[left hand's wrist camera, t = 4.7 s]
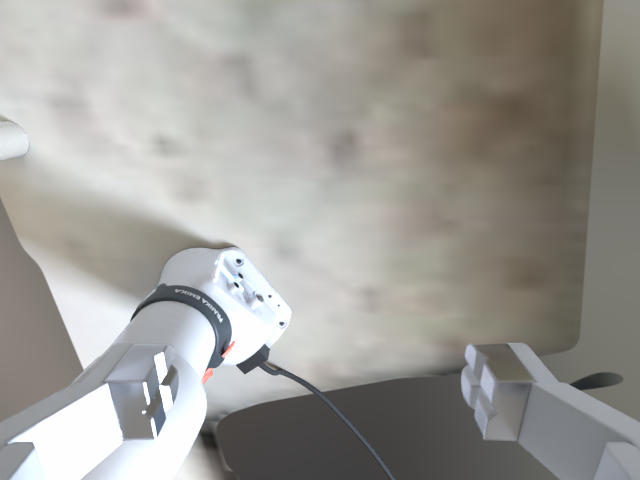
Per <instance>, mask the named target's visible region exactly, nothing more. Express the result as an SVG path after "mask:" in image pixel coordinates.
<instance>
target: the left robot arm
mask: <svg viewBox="0 0 640 480" xmlns="http://www.w3.org/2000/svg"><path fill="white" fill-rule="evenodd" d="M175 357H176V356H175V351H174V347H173V346H172V345H171V344H153V343H135V344H134V343H117V344H114V345H112V346H111V347H110V349H109V350H108V351H107V352H106V353H105V355H104V356H103V357H102V358H101V359H100V361H99V362H98V363H97V364H96V365H95V366H94V368H93V369H92V370H91V371H90V372H89V374H88V375H87V376H86V377H85V378H84V380H83V381H82V382H81V383H74V384H72V385H70V386H68V387H66V388H64V389H62V390H60V391H58V392H57V393H55V394H53V395H51V396H49V397H47V398H45V399H43V400H42V401H40V402H38V403H36V404H34V405H32V406H30V407H28V408H26V409H24V410H23V411H21V412H19V413H17V414H15V415H13V416H11V417H9V418H7V419H5V420H4V421H2V422H0V480H80V479H81V478H82V477H83V476H84V475H86V474H87V473H88V472H89V471H90V470H91V469H93V468H94V467H95V466H96V465H97V464H98V463H99V462H101V461H102V460H103V459H104V458H105V457H106V456H108V455H109V454H110V453H111V452H112V451H113V450H114V449H116V448H117V447H118V446H119V445H120V444H121V443H122V441H135V440H156V439H157V437H158V435H159V433H160V431H161V429H162V427H163V425H164V422H165V420H166V415H165V411H166V410H167V409H169V408H170V407H171V406H173V404H174V401H175V399H176V397H177V392H178V387H179V375H178V370H177V369H176V368H175V367H174V366H173V365H172V362H173V361H174V359H175ZM464 357H465V359H466V361H467V362H468V365H467V366H466V367H465V368H464V369H463V370H462V376H461V386H462V393H463V396H464V399H465V401H466V403H467V405H468V406H469V407H470V408H471V409H473V410H474V411H475V415H474V420H475V422H476V425H477V427H478V429H479V431H480V433H481V435H482V437H483V439H484V440H505V441H518V443H519V444H520V445H521V446H522V447H523V448H525V449H526V450H527V451H528V452H529V453H530V454H532V455H533V456H534V457H535V458H536V459H537V460H539V461H540V462H541V463H542V464H543V465H544V466H545V467H546V468H548V469H549V470H550V471H551V472H552V473H553V474H555V475H556V476H557V477H558V478H559V479H560V480H640V422H638V421H636V420H634V419H632V418H631V417H629V416H627V415H625V414H623V413H621V412H619V411H617V410H615V409H614V408H612V407H610V406H608V405H606V404H604V403H602V402H600V401H598V400H597V399H595V398H593V397H591V396H589V395H587V394H585V393H583V392H581V391H580V390H578V389H576V388H574V387H572V386H570V385H568V384H566V383H559V382H558V381H557V380H556V378H555V377H554V376H553V375H552V374H551V373H550V371H549V370H548V369H547V368H546V367H545V365H544V364H543V363H542V362H541V361H540V359H539V358H538V357H537V356H536V355H535V353H534V352H533V351H532V350H531V349H530V348H529V346H528V345H526V344H524V343H505V344H468V346H467V348H466V350H465V356H464Z"/></svg>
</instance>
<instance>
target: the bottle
mask: <svg viewBox="0 0 640 480" xmlns="http://www.w3.org/2000/svg"><path fill="white" fill-rule="evenodd" d="M28 149H29V138H28V136H27V134H26V132H25V131H24V130H23V129H22V128H21V127H20V126H19V125H17V124H15V123H13V122H10V121H0V161H2V160H6V159H11V158H16V157H21V156H23V155H25V154H26V153H27V151H28Z"/></svg>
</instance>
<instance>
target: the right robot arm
mask: <svg viewBox="0 0 640 480" xmlns="http://www.w3.org/2000/svg"><path fill="white" fill-rule="evenodd" d="M237 259H240V260H241V262H238V261H237ZM290 317H291V309H290V307H289V306H288V305H287V304H286V302H285V301H284V300H283V299H282V298H281V297H280V295H279V294H278V293H277V292H276V291H275V289H274V288H273V287H272V286H271V285H270V284H269V282H268V281H267V280H266V279H265V278H264V276H263V275H262V274H261V273H260V272H259V271H258V269H257V268H256V267H255V266H254V265H253V264H252V262H251V261H250V260H249V259H248V258H247V256H246V255H245V254H244V253H243V252H242V251H241V250H240V249H239V248H237V247H228V248H224V249H210V248H190V249H186V250H183V251H181V252H179V253H177V254H175V255H174V256H172V257H171V258H170V259H169V260H168V261H167V263H166V264H165V266H164V268H163V270H162V273H161V277H160V281H159V283H158V285H157V287H156V288H154V289H153V290H152V291H151V292H150V293H149V294H148V295H147V296H146V297H145V299H144V300H143V301H142V302H141V303H140V305H139V306H138V307H137V309H136V311H135V312H134V314H133V316H132V318H131V321H130V323H129V324H128V326H127V327H126V328H125V329H124V330H123V332H122V333H121V334H120V335H119V336H118V338H117V339H116V340H115V341H114V342H113V344H112V345H114V344H117V343H134V344H135V343H153V344H171V345H172V346H173V347H174V351H175V356H176V357H175V359H174V361H173V362H172V365H173V366H174V367H175V368H176V369H177V370H178V375H179V387H178V392H177V397H176V399H175V401H174V404H173V406H171V407H170V408H169V409H167V410H166V411H165V415H166V420H165V422H164V425H163V427H162V429H161V431H160V433H159V435H158V437H157V439H156V440H135V441H122V443H121V444H120V445H119V446H118V447H117V448H116V449H114V450H113V451H112V452H111V453H110V454H109V455H108V456H106V457H105V458H104V459H103V460H102V461H101V462H99V463H98V464H97V465H96V466H95V467H94V468H93V469H91V470H90V471H89V472H88V473H87V474H86V475H84V476H83V477H82V478H81V479H80V480H172V478H173V477H174V476H175V475H176V474H177V472H178V471H179V469H180V467H181V466H182V464H183V462H184V460H185V458H186V456H187V455H188V453H189V451H190V449H191V447H192V445H193V443H194V441H195V439H196V437H197V435H198V433H199V430H200V428H201V426H202V424H203V421H204V418H205V415H206V409H207V399H206V393H205V389H204V387H203V384H204V383H205V382H206V381H207V379H208V378H210V377H211V376H212V374H213V372H212V369H213V368H216V367H218V366H219V365H220V364H224V365H229V366H232V365H236V366H237V367H238V368H239V369H240V370H241V371H242V372H243V373H244V374H246V373H248V372H249V371H251V370H252V369H254V368H256V367H257V366H259V367H260V368H262V369H263V370H264V371H266V372H267V373H269V374H271V375H279V374H281V375H284V376H286V377H289V378H291V379H293V380H295V381H296V382H298V383H300V384H301V385H303V386H305V387H306V388H308V389H309V390H310V391H312V392H313V393H315V394H316V395H317V396H319V397H320V398H321V399H322V400H323V401H324V402H325V403H327V404H328V405H329V407H330V408H331V409H332V410H333V411H334V412H335V413H336V414H337V415H338V416H339V417H340V418H341V419H342V420H343V421H344V422H345V423H346V424H347V426H348V427H349V428H350V429H351V430H352V431H353V432H354V433H355V434H356V435H357V437H358V438H359V439H360V440H361V441H362V442H363V444H364V445H365V446H366V447H367V449H368V450H369V451H370V452H371V454H372V455H373V456H374V457H375V459H376V460H377V461H378V463H379V464H380V466H381V467H382V468H383V470H384V471H385V472H386V474H387V475H388V477H389V478H390V480H395V478H394V477H393V475H392V474H391V472H390V471H389V469H388V468H387V467H386V465H385V464H384V463H383V461H382V460H381V458H380V457H379V456H378V454H377V453H376V452H375V450H374V449H373V448H372V447H371V445H370V444H369V443H368V442H367V440H366V439H365V438H364V437H363V436H362V434H361V433H360V432H359V431H358V430H357V429H356V428H355V426H354V425H353V424H352V423H351V422H350V421H349V420H348V419H347V418H346V417H345V416H344V415H343V414H342V413H341V412H340V410H339V409H338V408H337V407H336V406H335V405H334V404H333V403H332V402H331V401H330V400H329V399H328V398H327V397H326V396H325V395H324V394H322V393H321V392H320V391H319V390H317V389H316V388H314V387H313V386H312V385H310V384H309V383H307V382H306V381H304V380H303V379H301V378H299V377H297V376H295V375H293V374H291V373H289V372H287V371H284V370H280V369H279V370H273V369H271V368H269V367H268V366H266V365H265V364H264V363H263V362H265V361H267V360H268V356H269V351H270V349H269V348H268V347H270V346H271V345H272V344H273V343H274V342H275V341H276V340H277V339H278V338H279V337H280V336H281V334H282V333H283V332H284V330H285V329H286V327H287V325H288V323H289V320H290ZM280 322H284V323H283V324H281V323H280ZM112 345H111V346H112ZM111 346H110V347H111ZM110 347H109V348H108V349H107V350H106V351H105V352H104V353H103V354H102V355H101V356H99V357H98V358H97V359H96V360H94V361H93V362H92V363H91V364H90V365H89V366H88V367H87V368H86V369H85V370H84V371H83V372H82V373H81V374H80V375H79V376H78V377H77V378H76V379H75V380H74V381H73V382H72V383H71V384H70V385H72V384H74V383H81V382H82V381H83V380H84V378H85V377H86V376H87V375H88V374H89V372H90V371H91V370H92V369H93V368H94V366H95V365H96V364H97V363H98V362H99V361H100V359H101V358H102V357H103V356H104V355H105V353H106V352H107V351H108V350H109V349H110ZM70 385H69V386H70Z"/></svg>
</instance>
